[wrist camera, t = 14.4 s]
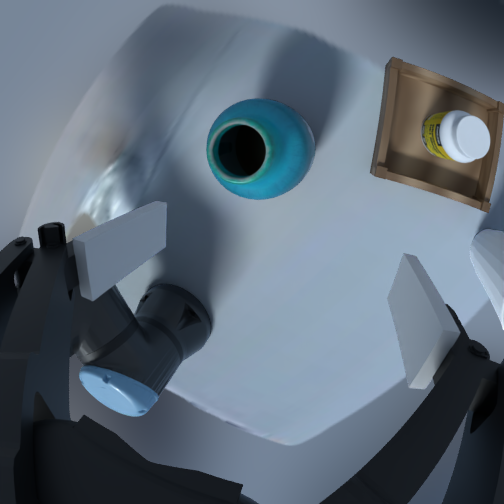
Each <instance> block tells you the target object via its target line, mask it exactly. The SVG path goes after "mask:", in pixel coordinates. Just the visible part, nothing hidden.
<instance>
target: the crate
mask: <svg viewBox="0 0 504 504" xmlns="http://www.w3.org/2000/svg"><path fill="white" fill-rule="evenodd" d="M455 110H460V111H464V112H467V113H469V114H470V115H472V116H476V117H478V118H479V119H481V120H482V121H483V122H484V124H485V125H486V127H487V129H488V131H489V134H490V147H489V150H488V152H487V154H486V155H485V156H484V157H482V158H480V159H475V160H474V161H472V162H468V163H461V162H456V161H452V160H448V159H444V158H440V157H437V156H435V155H433V154H431V153H430V152H429V151H428V150H427V149H426V148H425V146H424V144H423V142H422V139H421V126H422V123H423V121H424V120H425V119H426V118H427V117H428V116H430V115H432V114H436V113H442V112H448V111H455ZM503 118H504V104H503V103H502V102H500V101H495V100H494V99H492V98H490V97H488V96H486V95H484V94H482V93H480V92H478V91H476V90H474V89H472V88H470V87H468V86H465V85H463V84H461V83H459V82H456V81H454V80H452V79H450V78H447V77H445V76H442V75H440V74H437V73H434V72H432V71H429V70H426V69H424V68H421V67H418V66H415V65H412V64H409V63H406V62H403V60H401V59H397V58H394V57H392V58H391V59H390V60H389V62H388V63H387V64H386V67H385V77H384V86H383V95H382V103H381V110H380V117H379V124H378V130H377V136H376V142H375V148H374V154H373V159H372V164H371V169H370V173H371V174H372V175H374V176H375V177H379V178H383V179H388V180H392V181H395V182H399V183H402V184H406V185H409V186H412V187H416V188H419V189H422V190H425V191H429V192H432V193H435V194H438V195H441V196H444V197H447V198H450V199H453V200H455V201H458V202H461V203H464V204H467V205H469V206H472V207H475V208H477V209H480V210H481V211H484V212H487V213H489V210H490V206H491V203H489V201H490V197H491V193H492V189H493V184H494V180H495V175H496V169H497V164H498V158H499V152H500V145H501V137H502V128H503Z"/></svg>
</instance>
